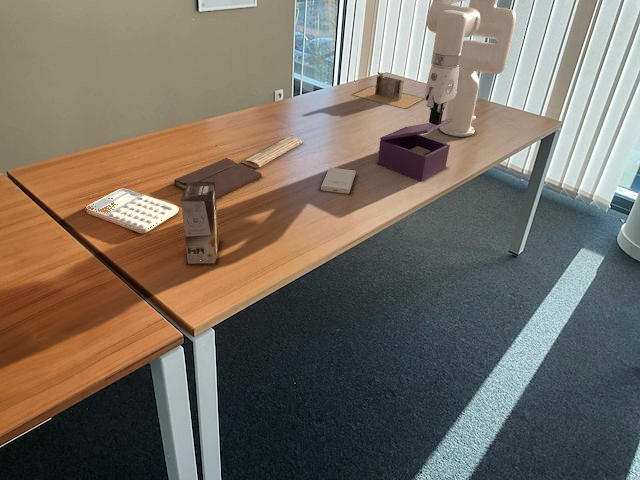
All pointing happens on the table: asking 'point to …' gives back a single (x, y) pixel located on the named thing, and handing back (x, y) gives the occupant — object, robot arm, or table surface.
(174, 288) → the table surface
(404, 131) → the lid
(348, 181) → the hard drive
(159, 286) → the table surface
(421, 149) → the block
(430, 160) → the purple lidded box
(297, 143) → the newspaper
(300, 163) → the table surface
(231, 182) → the notebook
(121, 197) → the calculator
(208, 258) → the coffee box
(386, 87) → the architectural model on board
